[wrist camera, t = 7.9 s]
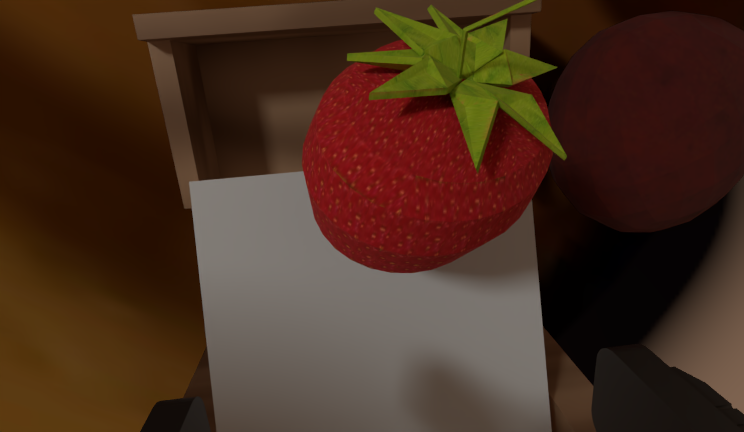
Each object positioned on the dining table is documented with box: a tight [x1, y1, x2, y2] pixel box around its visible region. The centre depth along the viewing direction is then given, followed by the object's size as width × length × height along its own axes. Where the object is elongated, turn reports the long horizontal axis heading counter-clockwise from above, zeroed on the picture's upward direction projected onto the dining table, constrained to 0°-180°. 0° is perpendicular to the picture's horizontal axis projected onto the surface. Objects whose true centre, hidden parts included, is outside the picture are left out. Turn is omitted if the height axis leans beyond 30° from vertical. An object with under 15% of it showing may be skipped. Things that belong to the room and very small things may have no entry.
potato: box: [548, 11, 744, 232], centre depth 24 cm, size 12×11×8 cm
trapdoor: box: [189, 171, 552, 432], centre depth 17 cm, size 20×13×4 cm, turn 4°
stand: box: [132, 0, 596, 432], centre depth 21 cm, size 26×18×15 cm
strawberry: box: [302, 0, 567, 273], centre depth 12 cm, size 6×8×10 cm
